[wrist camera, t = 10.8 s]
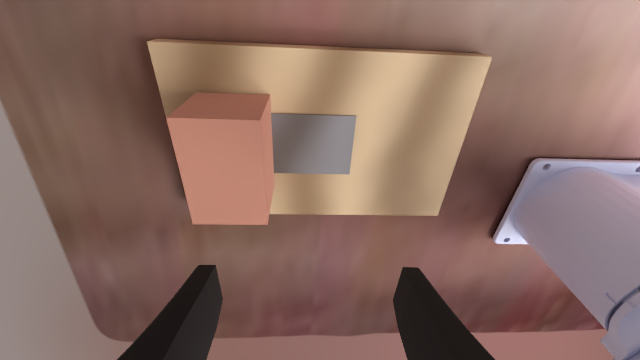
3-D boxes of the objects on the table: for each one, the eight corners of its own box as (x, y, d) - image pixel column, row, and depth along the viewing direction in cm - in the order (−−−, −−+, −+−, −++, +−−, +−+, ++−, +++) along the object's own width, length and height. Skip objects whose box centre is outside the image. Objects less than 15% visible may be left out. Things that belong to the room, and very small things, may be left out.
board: (481, 53, 16) (493, 57, 15) (431, 205, 22) (438, 216, 21) (157, 38, 15) (145, 41, 14) (195, 202, 21) (189, 214, 20)
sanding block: (270, 94, 16) (260, 120, 12) (274, 184, 19) (267, 224, 16) (196, 92, 16) (166, 117, 12) (213, 183, 19) (193, 224, 15)
